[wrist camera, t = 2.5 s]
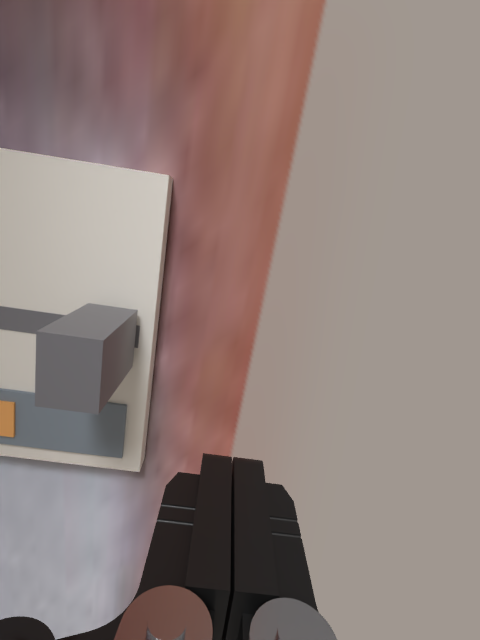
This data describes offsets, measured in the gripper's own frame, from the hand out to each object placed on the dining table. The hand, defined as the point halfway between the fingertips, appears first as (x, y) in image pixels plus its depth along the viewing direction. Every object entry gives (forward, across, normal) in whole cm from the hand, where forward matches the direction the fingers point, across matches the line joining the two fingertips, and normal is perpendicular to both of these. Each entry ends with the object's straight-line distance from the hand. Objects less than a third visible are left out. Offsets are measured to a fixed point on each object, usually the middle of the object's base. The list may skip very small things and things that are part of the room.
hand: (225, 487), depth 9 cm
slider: (+10, +6, 0) cm, 12 cm away
